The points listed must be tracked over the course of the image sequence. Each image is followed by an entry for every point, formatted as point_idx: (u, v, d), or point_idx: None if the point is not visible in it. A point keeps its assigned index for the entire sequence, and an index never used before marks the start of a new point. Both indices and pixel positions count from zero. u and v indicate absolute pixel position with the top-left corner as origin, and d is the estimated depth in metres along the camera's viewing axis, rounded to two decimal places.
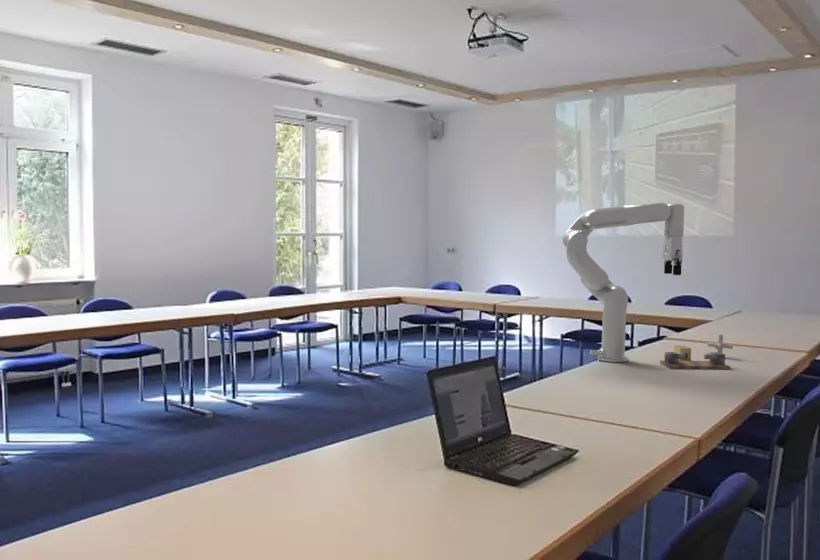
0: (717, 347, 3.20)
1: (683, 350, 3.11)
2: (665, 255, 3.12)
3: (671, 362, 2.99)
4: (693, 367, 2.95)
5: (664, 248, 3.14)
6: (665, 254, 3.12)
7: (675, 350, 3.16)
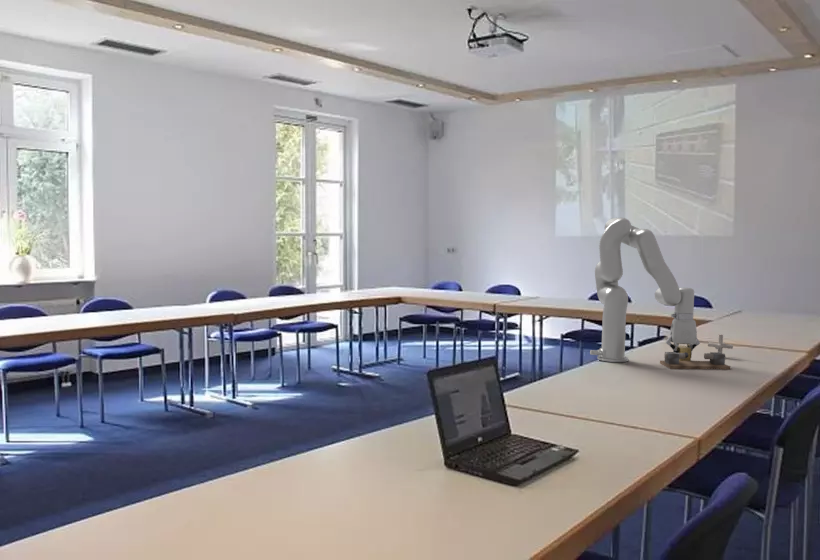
0: (717, 347, 3.20)
1: (683, 349, 3.11)
2: (682, 339, 3.11)
3: (671, 362, 2.99)
4: (693, 367, 2.95)
5: (679, 332, 3.11)
6: (684, 339, 3.11)
7: None
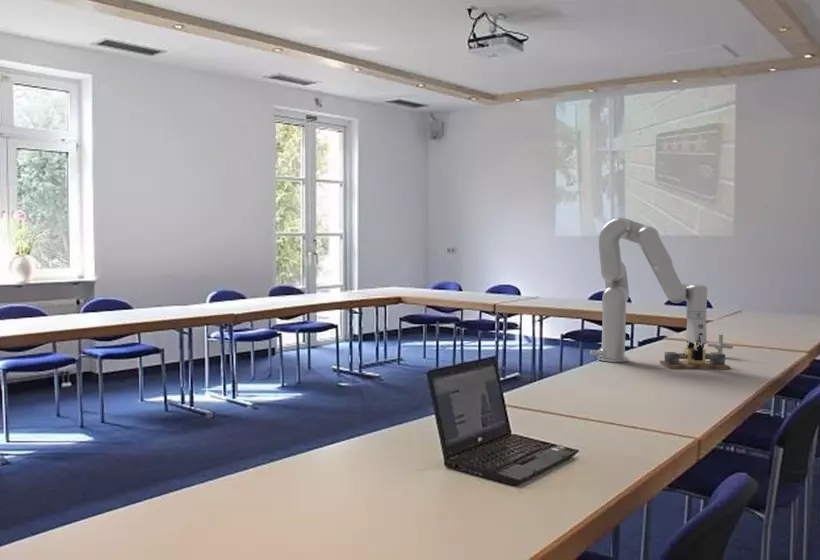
0: (717, 347, 3.20)
1: None
2: None
3: (671, 362, 2.99)
4: (693, 367, 2.95)
5: None
6: None
7: (692, 354, 2.99)
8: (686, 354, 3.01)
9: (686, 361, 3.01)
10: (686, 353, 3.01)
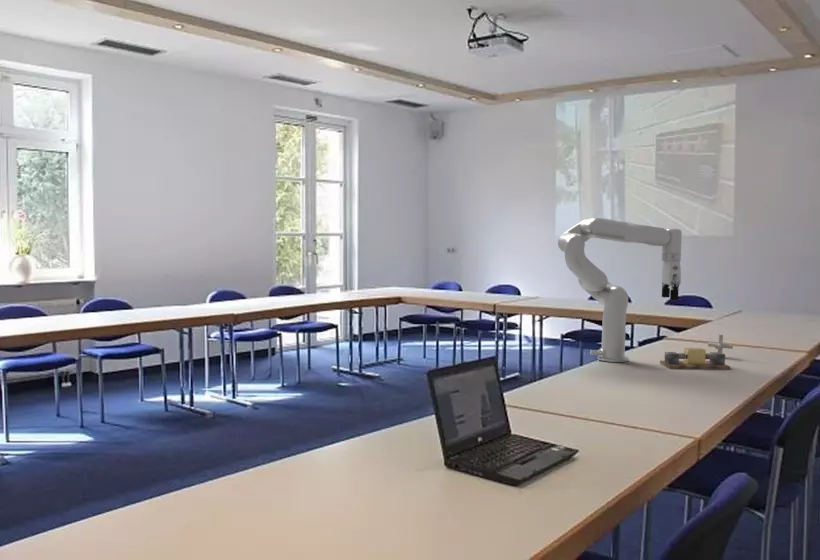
0: (717, 347, 3.20)
1: None
2: None
3: (671, 362, 2.99)
4: (693, 367, 2.95)
5: None
6: None
7: (692, 354, 2.99)
8: (686, 354, 3.01)
9: (686, 361, 3.01)
10: (686, 353, 3.01)
